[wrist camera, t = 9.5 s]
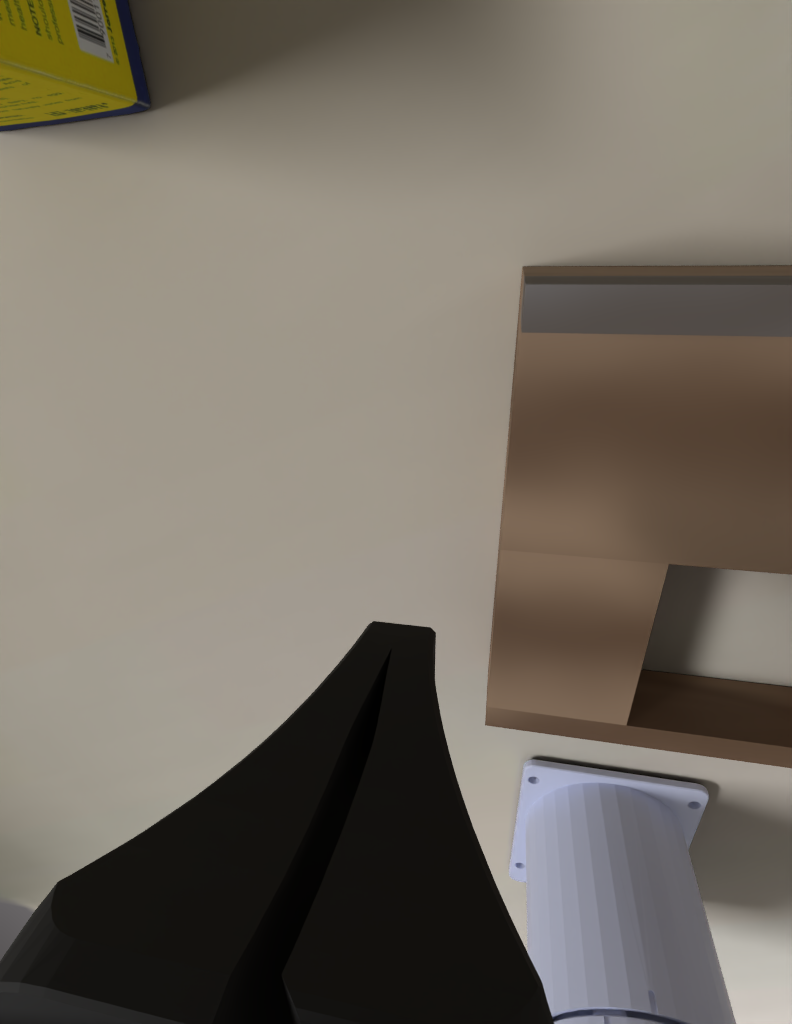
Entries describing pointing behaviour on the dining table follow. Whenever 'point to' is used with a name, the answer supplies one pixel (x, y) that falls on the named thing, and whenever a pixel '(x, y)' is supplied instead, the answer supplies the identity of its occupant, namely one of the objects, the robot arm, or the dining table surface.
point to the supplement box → (68, 62)
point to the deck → (640, 498)
